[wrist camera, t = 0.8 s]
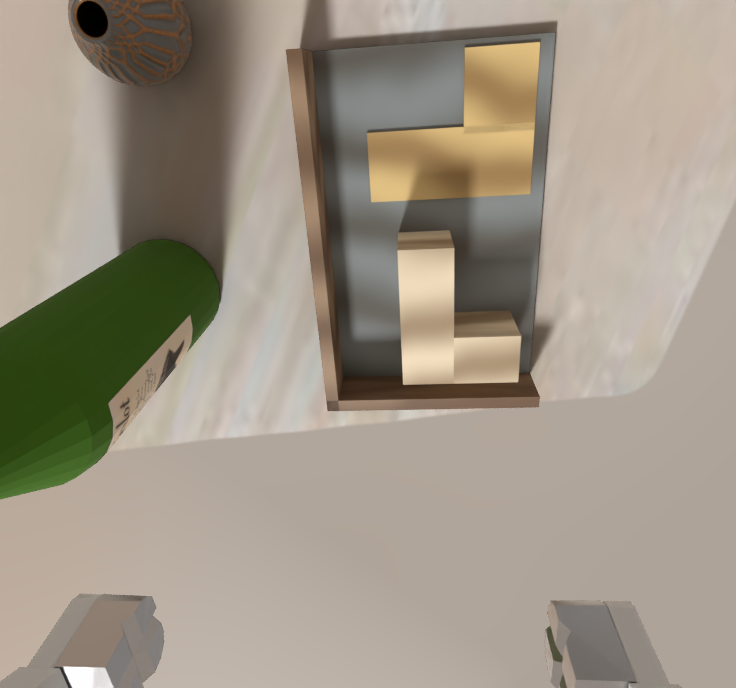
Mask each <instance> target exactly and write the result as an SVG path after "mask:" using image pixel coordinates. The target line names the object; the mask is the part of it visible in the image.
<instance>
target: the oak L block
mask: <svg viewBox="0 0 736 688" xmlns="http://www.w3.org/2000/svg"><path fill="white" fill-rule="evenodd" d="M397 253H398V277H399V300H400V324H401V348H402V372H403V385H417V384H462V383H506V382H518V378H519V363H520V348H521V334H520V332H519V330H518V328H517V325H516V323H515V321H514V319H513V316H512V314H511V312H510V310H508V311H478V312H454V245H453V241H452V237H451V234H450V230H442V231H421V232H400V233H398V249H397Z"/></svg>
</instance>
